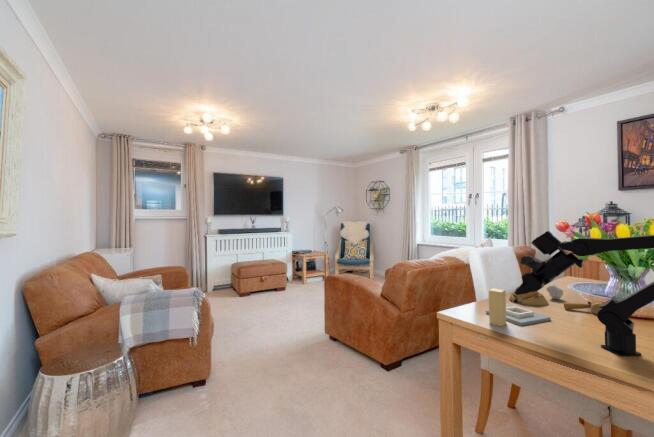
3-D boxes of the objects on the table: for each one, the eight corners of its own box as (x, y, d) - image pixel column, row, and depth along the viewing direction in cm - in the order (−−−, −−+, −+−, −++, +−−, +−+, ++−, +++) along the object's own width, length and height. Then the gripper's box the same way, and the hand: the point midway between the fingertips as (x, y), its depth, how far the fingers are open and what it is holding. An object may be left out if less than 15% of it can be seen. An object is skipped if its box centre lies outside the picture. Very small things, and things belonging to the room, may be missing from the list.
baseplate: (550, 320, 117) (550, 313, 117) (521, 325, 112) (520, 318, 112) (513, 308, 132) (513, 302, 132) (486, 313, 127) (486, 307, 127)
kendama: (567, 315, 127) (624, 315, 118) (564, 300, 128) (620, 299, 119) (564, 313, 133) (618, 313, 124) (561, 299, 135) (614, 297, 126)
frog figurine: (544, 297, 150) (543, 283, 150) (560, 297, 148) (559, 283, 148) (549, 300, 144) (549, 286, 144) (566, 301, 142) (566, 286, 142)
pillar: (506, 323, 115) (505, 290, 115) (502, 326, 112) (501, 292, 112) (493, 320, 118) (492, 288, 118) (489, 323, 115) (488, 290, 115)
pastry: (504, 298, 150) (504, 282, 150) (534, 298, 149) (534, 282, 149) (520, 306, 136) (520, 289, 136) (554, 306, 136) (553, 288, 136)
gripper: (542, 245, 112) (510, 270, 120) (528, 249, 99) (493, 277, 108) (569, 268, 106) (533, 293, 114) (558, 276, 94) (518, 303, 102)
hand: (519, 291), depth 110 cm, fingers open, 9 cm apart
